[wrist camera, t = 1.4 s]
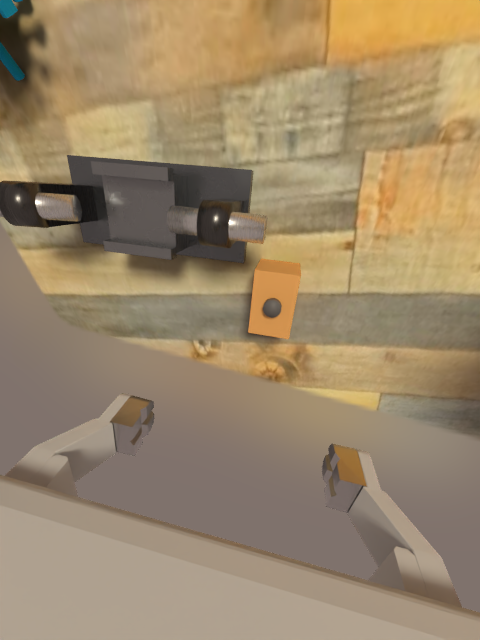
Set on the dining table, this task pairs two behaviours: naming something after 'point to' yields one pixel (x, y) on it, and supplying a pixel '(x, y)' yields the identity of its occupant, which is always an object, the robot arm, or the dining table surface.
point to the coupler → (274, 298)
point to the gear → (3, 5)
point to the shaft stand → (144, 207)
